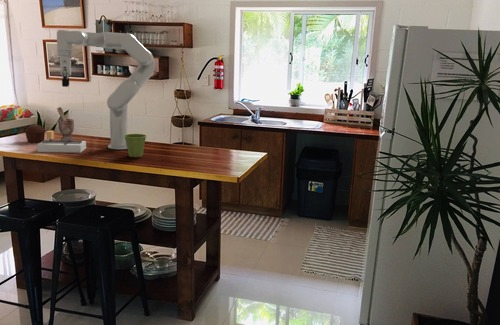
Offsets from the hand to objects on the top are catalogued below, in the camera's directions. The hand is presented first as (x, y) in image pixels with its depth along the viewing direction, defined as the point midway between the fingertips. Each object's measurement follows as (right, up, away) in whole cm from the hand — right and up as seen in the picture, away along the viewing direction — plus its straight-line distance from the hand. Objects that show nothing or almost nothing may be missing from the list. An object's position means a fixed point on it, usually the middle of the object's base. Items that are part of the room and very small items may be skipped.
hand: (65, 85), depth 232 cm
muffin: (-26, -30, +18) cm, 44 cm away
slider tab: (-8, -31, -1) cm, 32 cm away
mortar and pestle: (-11, -29, +25) cm, 40 cm away
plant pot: (+40, -39, -5) cm, 56 cm away
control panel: (-2, -35, +1) cm, 35 cm away
